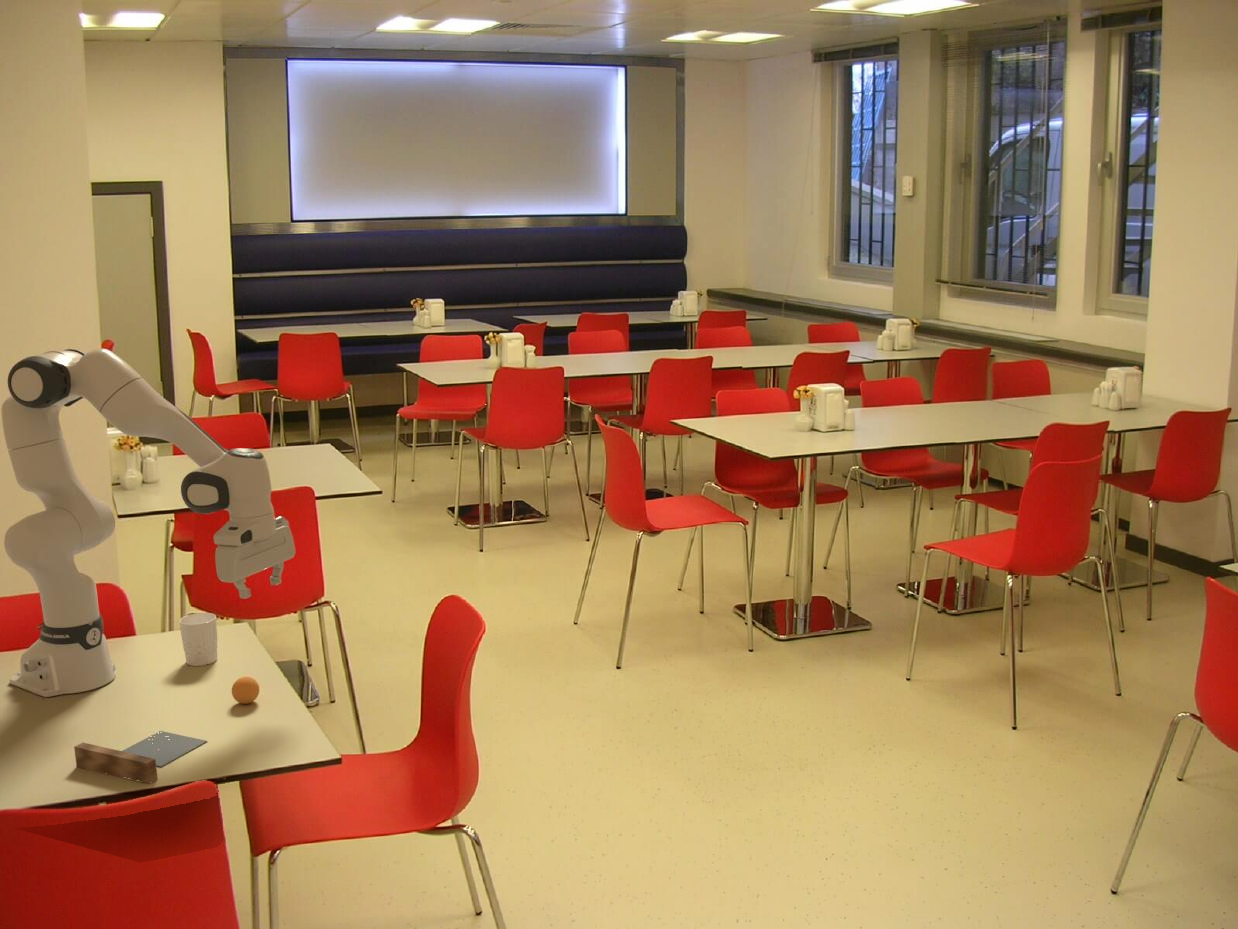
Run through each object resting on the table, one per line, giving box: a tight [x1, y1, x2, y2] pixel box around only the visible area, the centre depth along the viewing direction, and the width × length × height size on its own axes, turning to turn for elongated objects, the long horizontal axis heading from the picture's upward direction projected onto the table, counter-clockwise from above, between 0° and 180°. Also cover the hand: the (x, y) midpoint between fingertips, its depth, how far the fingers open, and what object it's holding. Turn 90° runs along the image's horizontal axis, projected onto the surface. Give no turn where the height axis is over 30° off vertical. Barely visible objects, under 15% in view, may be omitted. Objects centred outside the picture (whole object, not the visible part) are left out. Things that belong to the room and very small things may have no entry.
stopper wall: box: [73, 742, 158, 785], centre depth 242 cm, size 18×2×4 cm, turn 64°
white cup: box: [178, 612, 218, 667], centre depth 296 cm, size 8×8×10 cm
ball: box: [231, 676, 260, 705], centre depth 273 cm, size 6×6×6 cm
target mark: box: [122, 730, 208, 768], centre depth 252 cm, size 12×12×1 cm
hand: (261, 590), depth 276 cm, fingers open, 8 cm apart
